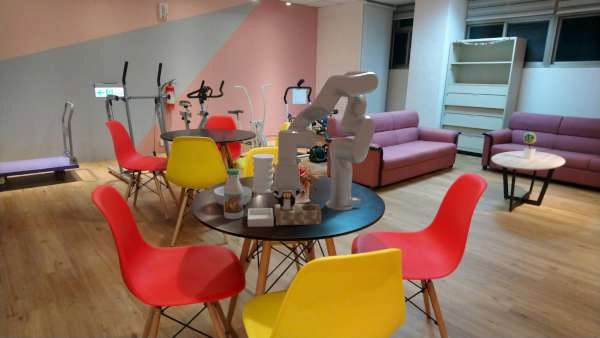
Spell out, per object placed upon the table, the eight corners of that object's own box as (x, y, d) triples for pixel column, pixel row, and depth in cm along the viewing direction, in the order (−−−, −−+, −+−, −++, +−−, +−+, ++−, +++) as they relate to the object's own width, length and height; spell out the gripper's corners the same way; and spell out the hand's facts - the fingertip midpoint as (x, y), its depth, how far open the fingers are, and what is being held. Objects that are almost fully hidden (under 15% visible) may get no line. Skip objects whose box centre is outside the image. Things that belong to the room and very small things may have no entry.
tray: (272, 214, 156) (272, 208, 156) (273, 226, 145) (273, 218, 144) (248, 215, 155) (248, 208, 154) (247, 226, 144) (247, 219, 143)
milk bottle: (220, 216, 154) (219, 169, 149) (235, 211, 159) (235, 166, 154) (231, 221, 148) (230, 173, 143) (246, 216, 154) (246, 170, 149)
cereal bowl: (249, 212, 159) (249, 196, 157) (210, 211, 159) (209, 195, 157) (253, 199, 175) (253, 185, 174) (218, 198, 175) (218, 184, 173)
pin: (290, 218, 154) (291, 190, 151) (291, 221, 150) (292, 193, 147) (281, 218, 153) (281, 190, 150) (281, 222, 149) (282, 193, 146)
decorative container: (249, 193, 184) (248, 157, 179) (254, 186, 195) (254, 153, 191) (272, 194, 183) (272, 159, 178) (276, 187, 194) (276, 154, 189)
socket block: (317, 214, 158) (317, 201, 156) (321, 224, 148) (321, 209, 147) (274, 215, 156) (274, 202, 154) (276, 225, 146) (276, 210, 145)
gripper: (307, 159, 150) (305, 202, 154) (265, 159, 148) (265, 203, 152) (310, 163, 143) (308, 208, 147) (266, 164, 141) (266, 209, 145)
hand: (286, 205), depth 150 cm, fingers closed on pin, 4 cm apart
